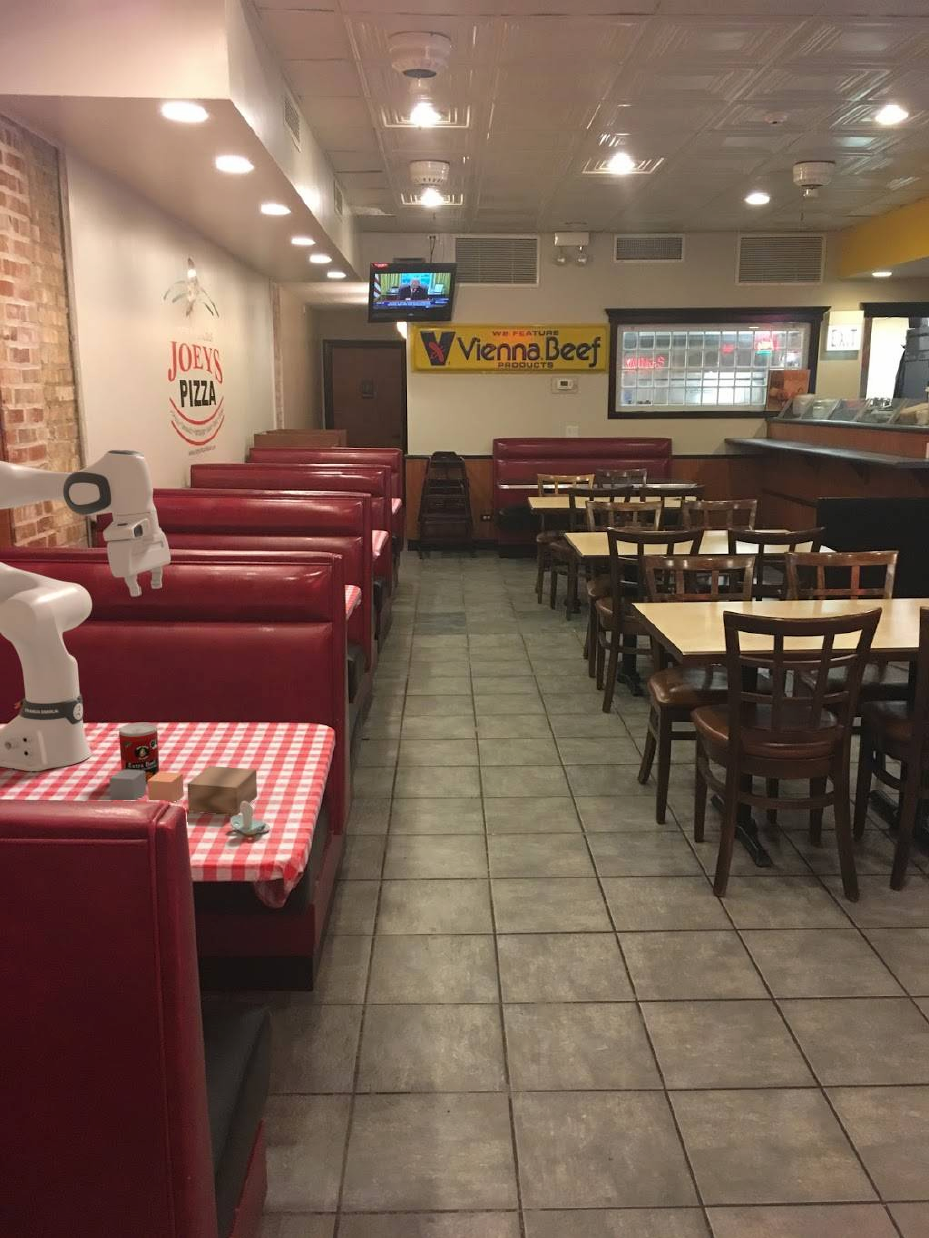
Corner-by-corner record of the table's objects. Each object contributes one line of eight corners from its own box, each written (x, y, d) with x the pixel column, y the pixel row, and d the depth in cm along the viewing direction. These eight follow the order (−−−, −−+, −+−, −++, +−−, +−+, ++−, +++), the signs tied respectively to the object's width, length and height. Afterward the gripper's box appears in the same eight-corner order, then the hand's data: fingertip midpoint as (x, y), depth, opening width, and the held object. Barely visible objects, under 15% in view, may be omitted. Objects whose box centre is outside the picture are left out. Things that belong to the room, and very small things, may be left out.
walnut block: (188, 813, 184) (187, 783, 183) (210, 793, 194) (209, 766, 193) (237, 816, 182) (236, 787, 181) (257, 797, 192) (256, 769, 191)
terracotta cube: (148, 804, 188) (147, 780, 187) (160, 794, 193) (159, 771, 192) (172, 806, 187) (171, 782, 186) (183, 796, 192) (182, 773, 191)
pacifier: (250, 821, 181) (226, 830, 176) (250, 790, 180) (225, 798, 175) (277, 831, 176) (253, 840, 172) (277, 798, 175) (253, 808, 171)
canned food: (125, 786, 197) (121, 735, 195) (119, 773, 204) (116, 724, 202) (163, 780, 200) (160, 730, 198) (156, 768, 207) (153, 720, 205)
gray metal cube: (111, 801, 189) (109, 777, 188) (123, 792, 194) (122, 769, 193) (134, 803, 188) (133, 779, 187) (146, 794, 193) (145, 770, 192)
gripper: (145, 523, 210) (155, 585, 213) (98, 533, 190) (109, 601, 193) (172, 521, 209) (181, 583, 212) (127, 531, 189) (138, 599, 192)
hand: (147, 591), depth 202 cm, fingers open, 8 cm apart
